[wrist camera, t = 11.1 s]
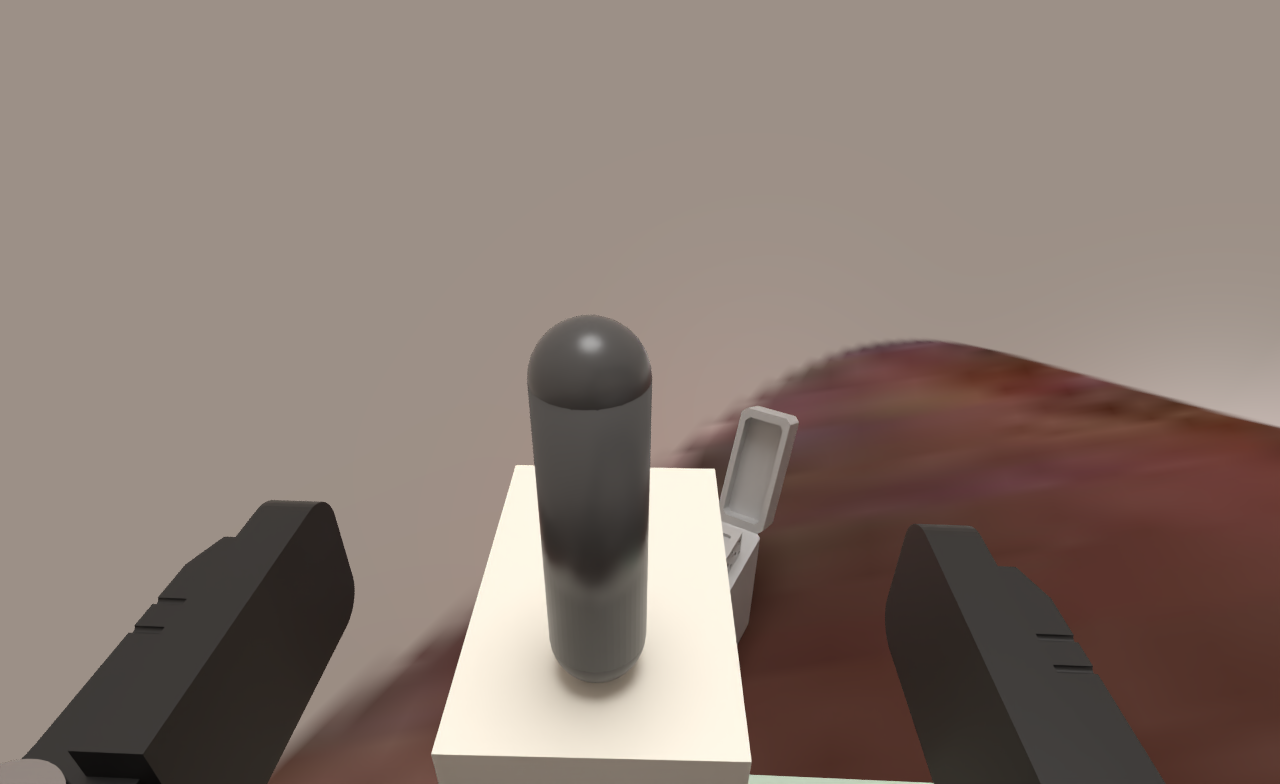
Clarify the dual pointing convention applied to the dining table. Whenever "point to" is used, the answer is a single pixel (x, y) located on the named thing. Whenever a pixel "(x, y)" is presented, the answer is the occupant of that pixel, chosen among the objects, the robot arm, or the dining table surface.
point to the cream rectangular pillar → (599, 597)
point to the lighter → (752, 497)
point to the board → (815, 780)
